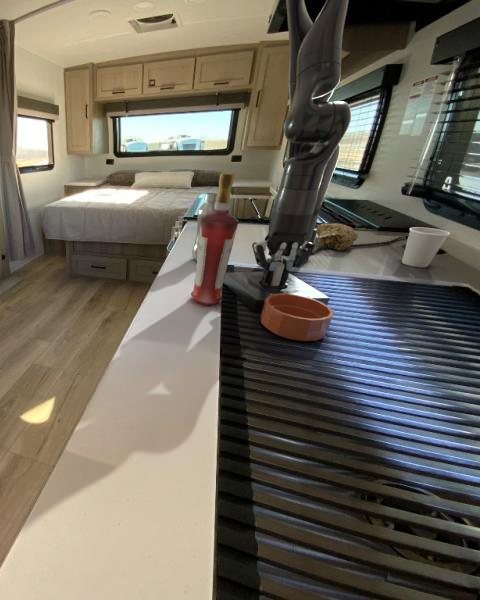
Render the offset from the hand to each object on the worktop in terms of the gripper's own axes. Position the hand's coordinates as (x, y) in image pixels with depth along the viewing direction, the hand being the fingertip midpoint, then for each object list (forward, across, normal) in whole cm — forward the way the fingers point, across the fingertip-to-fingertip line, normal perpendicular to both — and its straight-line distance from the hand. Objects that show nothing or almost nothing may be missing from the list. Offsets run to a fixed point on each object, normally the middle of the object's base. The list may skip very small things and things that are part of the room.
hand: (273, 283), depth 78 cm
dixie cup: (+3, +54, +19) cm, 57 cm away
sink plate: (+3, 0, 0) cm, 3 cm away
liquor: (+3, -16, -2) cm, 17 cm away
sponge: (+3, +45, +41) cm, 61 cm away
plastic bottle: (+3, -7, +26) cm, 27 cm away
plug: (+3, 0, 0) cm, 3 cm away
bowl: (+3, -4, -15) cm, 16 cm away
